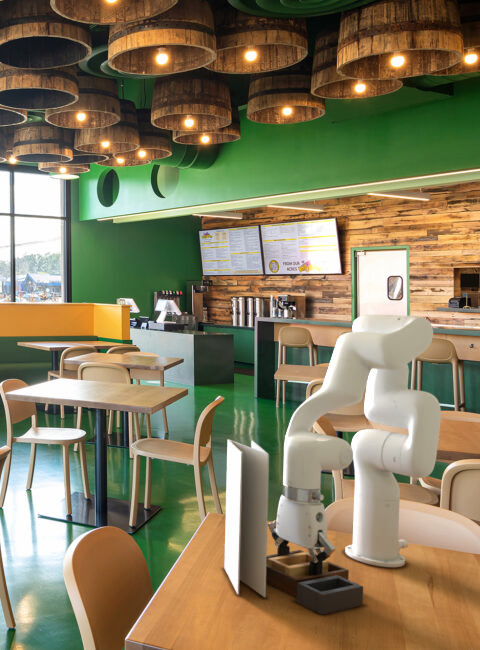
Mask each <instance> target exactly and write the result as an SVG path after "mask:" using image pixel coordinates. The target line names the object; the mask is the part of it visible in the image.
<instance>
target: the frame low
mask: <svg viewBox="0 0 480 650" xmlns="http://www.w3.org/2000/svg"><path fill="white" fill-rule="evenodd" d="M295 598H296V599H295V600H296V601H295V602H296V603H298V604H299V605H302V606H304V607H306V608H307V609H310V610H312V611H314V612H316V613H317V614H319V615H326V614H331V613H336V612H340V611H344V610H345V611H346V610H348V609H353V608H357V607H361V606H363V605H364V604H363V603H364V586H363V585H361V584H359V583H356V582H354V581H351V580H349V579H348V580H347V579H345V578H343V577H340V576H338V575H335V576H330V577H325V578H320V579H315V580H310V581H305V582H300V583H297V597H295Z"/></svg>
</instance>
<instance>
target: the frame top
mask: <svg viewBox="0 0 480 650" xmlns="http://www.w3.org/2000/svg"><path fill="white" fill-rule="evenodd" d="M310 561H313V560H312V558H311V556H310V553H309V552H307V551H304V552H302V553H296V554H290V555H284V556H279V557H273V558H268V559H267V565H268V566H270V567H273V568H275V569H277V570H279V571H281V572H283V573H286V574H288V575H290V576H292V577H294V578H301V577H306V576H309V564H310ZM328 562H329V561H328V560H327V559H326V560H325V561H323V565H322V573H326V572H328Z"/></svg>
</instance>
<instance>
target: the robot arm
mask: <svg viewBox="0 0 480 650" xmlns="http://www.w3.org/2000/svg"><path fill="white" fill-rule="evenodd" d="M433 338H434V328H433V326H432V324H431V322H430V321H429V320H428V319H427V318H425V317H422V316H419V315H418V316H417V315H397V314H395V315H394V314H365V315H361V316H358V317H357V318H356V319H354V320H353V323H352V331H349V332H346V333H345V332H344V333H343V334H341V335H340V336H339V337H338V338H337V340H336V343H335V346H334V348H333V352H332V355H331V359H330V361H329V365H328V368H327V371H326V374H325V376H324V379H323V383H322V386H321V387H320V388H319V389H318V390H317V391H316V392H315V393H313V394H311V396H309V397H308V398H307V399H306V400H305V401H304V402H302V403H301V404H300V405H299V406H298V407H297V408H296V410H295V411H294V412H293V414H292V416H291V418H290V421H289V424H288V427H287V430H286V434H285V438H284V444H283V468H282V469H283V470H282V471H283V472H282V473H283V474H282V494H281V495H280V498H279V501H278V506H277V513H276V520H274V521H271V522H269V523H267V528H268V529H269V531H270V533H271V536H272V539H273V541H274V545H275V547H277V550H276V551H277V552H276V554H277V557H279V556H284V555H290V552H291V547H290V545H288V544H289V543H292V544H294V545H296V546H298V547H301V548H304V549H307V551H308V553H309V554H310V556H311V558H312V560H313V561H310V564H309V576H311V575H316V574H321V573H322V565H323V561H325V560H326V561H327V559H328V558H330V557H331V556H332V554H333V553H334V552H335V551H336V547H335V546H334V545H333V543H332V542H331V541H330V540H329V539H328V525H327V515H326V509H325V505H324V503H323V501H324V499H325V496H324V494H322V493H321V480H322V477H321V476H322V471H333V472H335V471H336V472H337V471H342V470H344V469H346V468H348V467H349V466H350V465H351V463H352V462H353V467H354V468H353V469H354V497H353V520H352V521H353V525H352V526H353V527H352V544H348V545H347V546H345V548H344V549H345V550H344V553H345V554H346V555H347V557H349V558H351V559H352V560H355V561H357V562H361V563H363V564H367V565H371V566H375V567H381V568H401V567H403V566H405V565H406V558H405V557H404V556H403V555H402V554H400V550H401V549H406V548H408V547H409V543H408V541H407V540H405V539H399V526H400V504H401V503H400V502H401V501H400V500H401V489H400V486H399V483H398V480H397V479H396V477H395V476H394V474H398V475H402V476H405V477H406V476H407V477H411V478H414V479H415V478H416V479H424V478H427V477H428V476H430V475H431V474H432V473H433V471H434V468H435V465H436V461H437V456H438V455H437V454H438V447H439V438H440V431H441V423H442V408H441V404H440V402H439V400H438V399H437V397H436V396H435V395H434V394H432V393H430V392H428V391H424V390H419V389H410V388H408V387H409V375H410V369H409V365H408V364H410V363H411V362H412V361H413V360H415V359H416V358H418V357H419V356H420V355H422V354H423V353H424V352H425V351H426V350H428V348H429V347H430V345H431V344H432V341H433ZM364 394H365V396H364ZM363 398H364V405H363V406H364V407H363V412H364V416H365V418H366V419H367V420H368V421H370V422H372V423H374V424H378V425H381V426H382V425H383V426H388V427H393V428H399V429H405V430H408V434H404V433H399V432H394V431H388V430H383V429H377V428H366V429H362V430H359V431H358V432H356V433H355V434H354V435H353V437H352V440H351V444H350V443H349V442H348V441H347V440H345V439H343V438H340V437H337V436H333V435H328V434H324V433H318V432H313V431H312V428H313V426H314V425H315V423H316V422H317V421H318V420H319V419H320V418H321V417H322V416H324V415H326V414H328V413H330V412H333V411H336V410H337V411H338V410H340V409H343V408H346V407H350V406H354V405H357V404H359V403H360V402H361V401H362V400H363ZM321 501H322V502H321Z"/></svg>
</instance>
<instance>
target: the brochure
mask: <svg viewBox="0 0 480 650" xmlns="http://www.w3.org/2000/svg"><path fill="white" fill-rule="evenodd" d="M226 445H227V447H226V454H227V455H226V486H225V490H226V491H225V523H224V524H225V525H224V526H225V527H224V529H225V531H224V562H223V563H224V566H223V568H224V570H225V572H226V574H227V576H228V579H229V581H230V582H231V585H232V586H233V588H234V590H235V592H236V594H237V595H240V581H241V582H242V583H244V584H245V585H247V586H248V587H249V588H251V589H252V590H253V591H255V592H256V593H258V594H259V595H260V596H262V597H263V598H266V597H267V595H266V592H267V591H266V590H267V583H266V556H267V555H268V554H267V553H268V550H267V549H268V513H269V511H268V510H269V476H270V475H269V473H270V454H269V453H268V452H267V451H265V449H263V448H262V447H261V446H260V445H259V444H258V443H256V442H255V441H254V440H251V445H250V446H247V445H246V444H243V443H240V442H238V441H235V440H232V439H230V438H227V443H226Z"/></svg>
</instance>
